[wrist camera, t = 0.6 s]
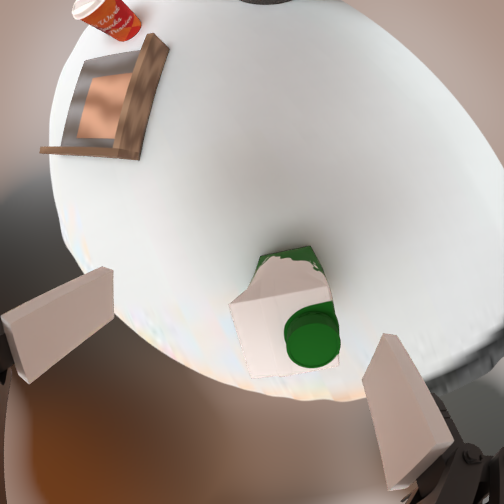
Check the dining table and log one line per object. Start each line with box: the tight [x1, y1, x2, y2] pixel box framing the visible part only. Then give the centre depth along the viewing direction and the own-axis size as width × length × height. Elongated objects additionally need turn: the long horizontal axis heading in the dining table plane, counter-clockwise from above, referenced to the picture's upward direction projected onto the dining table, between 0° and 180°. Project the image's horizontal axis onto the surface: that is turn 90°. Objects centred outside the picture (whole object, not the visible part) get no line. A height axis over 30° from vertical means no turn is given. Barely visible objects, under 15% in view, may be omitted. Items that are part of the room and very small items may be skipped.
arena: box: [40, 33, 169, 160], centre depth 33 cm, size 20×20×6 cm
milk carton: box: [229, 246, 341, 379], centre depth 28 cm, size 9×9×20 cm
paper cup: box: [72, 0, 141, 41], centre depth 26 cm, size 8×8×14 cm
